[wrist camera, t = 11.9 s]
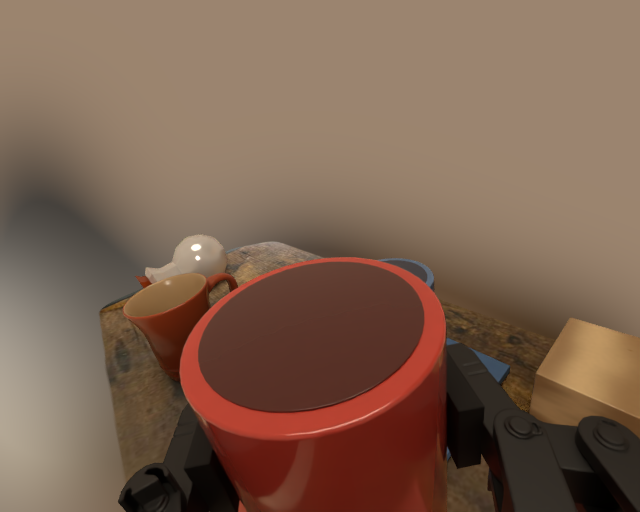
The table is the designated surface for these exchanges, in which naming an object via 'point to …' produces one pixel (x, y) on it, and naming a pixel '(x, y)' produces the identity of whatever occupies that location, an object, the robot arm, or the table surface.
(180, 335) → the mug
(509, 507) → the robot arm
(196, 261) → the potion bottle
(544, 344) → the table surface
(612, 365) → the wooden block
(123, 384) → the table surface
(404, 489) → the red cup
